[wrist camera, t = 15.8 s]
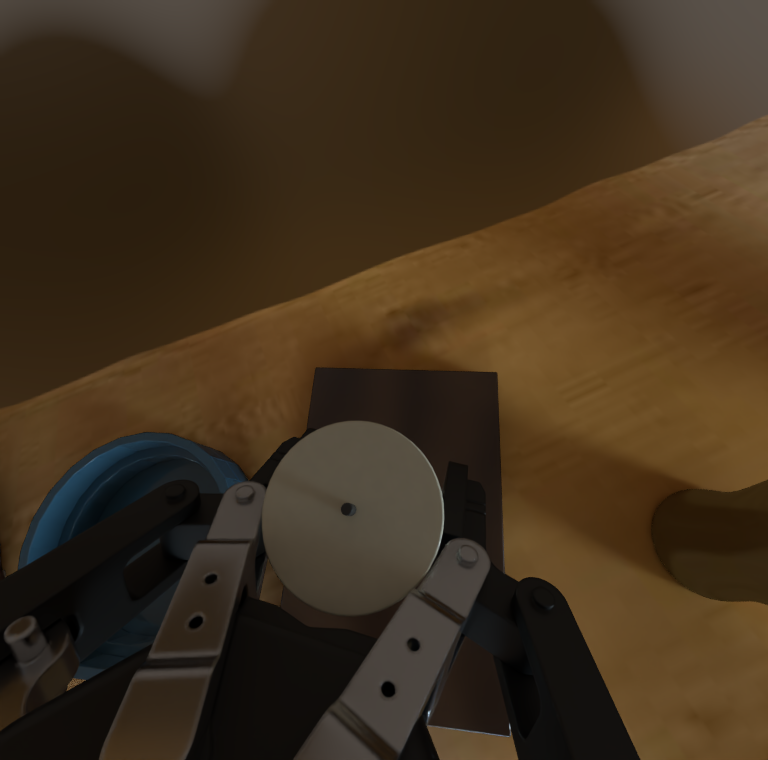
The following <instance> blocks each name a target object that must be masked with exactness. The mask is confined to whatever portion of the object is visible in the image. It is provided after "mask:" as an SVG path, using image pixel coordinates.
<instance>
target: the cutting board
mask: <svg viewBox="0 0 768 760" xmlns="http://www.w3.org/2000/svg"><path fill="white" fill-rule="evenodd" d="M344 421H368V422H373V423H377V424H381V425H384V426H387V427H389V428H392V429H394V430H395V431H397V432H399V433H401V434H402V435H404V436H405V437H406V438H408V439H409V440H410V441H412V442H413V443H414V444H415V445H416V446H417V447H418V448H419V449H420V450H421V452H422V453H423V454H424V455H425V457H426V458H427V460H428V461H429V463H430V464H431V466H432V468H433V470H434V472H435V474H436V476H437V479H438V482H439V485H440V488H441V491H442V489H443V485H444V481H445V476H446V472H447V467H448V463H449V461H452V462H456V463H460V464H464V465H468V479H469V480H473V481H477V482H480V483H481V485H482V487H483V489H484V491H485V492H486V551H487V553H488V555H489V558H490V560H491V562H492V563H493V564H494V565H495V566H496V567H497V568H498V569H499V570H500V571H501V572H503V573H504V574H505V567H504V540H503V513H502V486H501V459H500V432H499V405H498V378H497V372H465V371H428V370H392V369H355V368H319V367H316V368H315V375H314V382H313V389H312V396H311V402H310V409H309V416H308V423H307V429H308V428H313V429H317V430H318V429H320V428H322V427H325V426H327V425H331V424H334V423H338V422H344ZM306 431H307V430H306ZM428 572H429V571H428ZM428 572H427V574H428ZM427 574H426V575H427ZM426 575H425V577H426ZM425 577H424V578H425ZM424 578H423V580H424ZM423 580H422V581H423ZM422 581H421V582H420V583H419V584H418V585H417V586H416V588H415V589H418V587H419V586H420V584H421V583H422ZM404 599H405V598H403V599H402V600H400V601H399V602H397V603H396V604H394V605H392V606H390V607H388V608H386V609H384V610H382V611H379V612H376V613H372V614H368V615H362V616H354V617H353V616H337V615H332V614H327V613H325V612H322V611H319V610H316V609H314V608H312V607H310V606H308V605H307V604H305V603H303V602H302V601H301V600H299V599H298V598H297V597H295V596H294V595H293V594H292V593H291V592H290V591H289V590H288V589H287V588H286V587H285V586H283V593H282V600H281V607H280V608H282V609H283V610H285V611H286V612H288V613H289V614H290V615H292V616H293V617H295V618H296V619H298V620H299V621H300V622H302V623H303V624H305V625H306V626H309V627H319V628H341V629H349V630H352V631H355V632H359V633H362V634H365V635H368V636H371V637H374V638H377V639H378V638H379V637H380V635H381V634H382V632H383V631H384V629H385V628H386V626H387V625H388V623H389V622H390V620H391V619H392V617H393V616H394V614H395V613H396V611H397V610H398V608H399V607H400V605H401V604H402V602H403V601H404ZM428 726H433V727H440V728H447V729H454V730H461V731H468V732H476V733H483V734H490V735H497V736H504V737H510V736H511V729H510V723H509V719H508V715H507V711H506V707H505V703H504V699H503V695H502V691H501V687H500V683H499V679H498V675H497V671H496V667H495V663H494V658H493V654H491V653H490V652H488V651H487V650H485V649H484V648H482V647H481V646H480V645H478V644H477V643H475V642H474V641H472V640H471V639H469V638H468V637H466V638H465V640H464V642H463V644H462V646H461V649H460V651H459V653H458V655H457V658H456V660H455V662H454V664H453V667H452V669H451V671H450V673H449V675H448V678H447V680H446V682H445V685H444V687H443V690H442V692H441V695H440V697H439V700H438V702H437V705H436V707H435V710H434V712H433V714H432V717H431V719H430V721H429V723H428Z"/></svg>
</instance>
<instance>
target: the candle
mask: <svg viewBox="0 0 768 760" xmlns="http://www.w3.org/2000/svg"><path fill="white" fill-rule="evenodd" d="M443 527H444V503H443V497H442V491H441V488H440V485H439V482H438V479H437V476H436V474H435V472H434V470H433V468H432V466H431V464H430V463H429V461H428V460H427V458H426V457H425V455H424V454H423V453H422V452H421V450H420V449H419V448H418V447H417V446H416V445H415V444H414V443H413V442H412V441H410V440H409V439H408V438H406V437H405V436H404V435H402V434H401V433H399V432H397V431H395V430H394V429H392V428H389V427H387V426H384V425H381V424H377V423H373V422H368V421H344V422H338V423H334V424H331V425H327V426H325V427H322V428H320V429H318V430H316V431H314V432H312V433H310V434H309V435H307V436H306V437H304V438H303V439H302V440H300V441H299V442H298V443H297V444H296V445H295V446H293V447H292V448H291V449H290V450H289V452H288V453H287V454H286V455H285V456H284V457H283V459H282V460H281V462H280V463H279V465H278V466H277V468H276V469H275V471H274V473H273V475H272V477H271V479H270V482H269V485H268V487H267V490H266V494H265V498H264V502H263V509H262V534H263V542H264V545H265V549H266V553H267V556H268V558H269V561H270V563H271V566H272V568H273V569H274V571H275V573H276V575H277V577H278V578H279V579H280V580H281V582H282V583H283V584H284V586H285V587H286V588H287V589H288V590H289V591H290V592H291V593H292V594H293V595H294V596H295V597H297V598H298V599H299V600H301V601H302V602H303V603H305V604H307V605H308V606H310V607H312V608H314V609H316V610H319V611H322V612H325V613H327V614H332V615H337V616H353V617H354V616H362V615H368V614H372V613H376V612H379V611H382V610H384V609H386V608H388V607H390V606H392V605H394V604H396V603H397V602H399V601H400V600H402V599H403V598H405V597H406V596H407V595H408V593H409V592H410V591H411V590H412V589H413V588H416V586H417V585H418V584H419V583H420V582H421V581H422V580H423V578H424V577H425V575H426V574H427V572H428V571H429V569H430V568H431V565H432V563H433V561H434V559H435V557H436V555H437V552H438V549H439V546H440V543H441V539H442V534H443Z"/></svg>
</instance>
